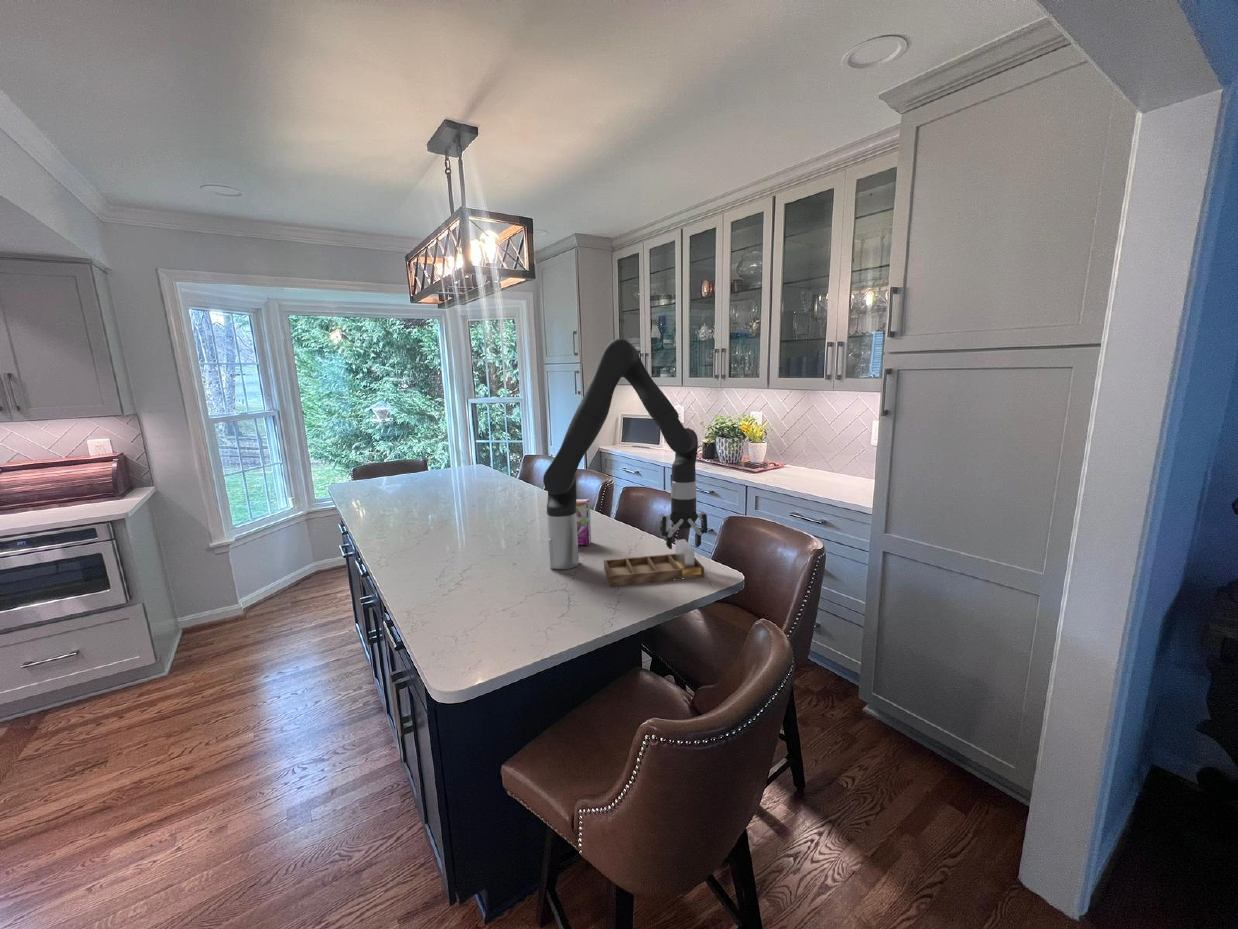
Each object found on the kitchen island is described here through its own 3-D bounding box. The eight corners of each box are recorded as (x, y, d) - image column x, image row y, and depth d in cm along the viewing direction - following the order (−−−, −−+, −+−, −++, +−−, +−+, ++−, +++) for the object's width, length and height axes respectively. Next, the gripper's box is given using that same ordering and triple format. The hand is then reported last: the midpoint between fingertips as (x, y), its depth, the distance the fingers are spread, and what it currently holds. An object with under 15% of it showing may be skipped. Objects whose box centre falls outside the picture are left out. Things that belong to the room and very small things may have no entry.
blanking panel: (684, 572, 147) (684, 550, 146) (675, 561, 157) (675, 540, 156) (694, 571, 148) (694, 549, 147) (684, 560, 157) (684, 539, 156)
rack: (610, 586, 142) (609, 576, 141) (604, 569, 155) (603, 560, 155) (704, 577, 146) (704, 567, 145) (690, 561, 160) (690, 552, 159)
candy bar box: (559, 546, 179) (556, 502, 176) (562, 542, 184) (559, 499, 181) (589, 546, 178) (587, 501, 175) (591, 542, 183) (589, 498, 180)
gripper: (663, 499, 144) (663, 553, 146) (710, 496, 146) (710, 549, 148) (657, 494, 151) (658, 545, 154) (702, 491, 153) (702, 542, 156)
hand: (683, 547), depth 151 cm, fingers open, 8 cm apart
